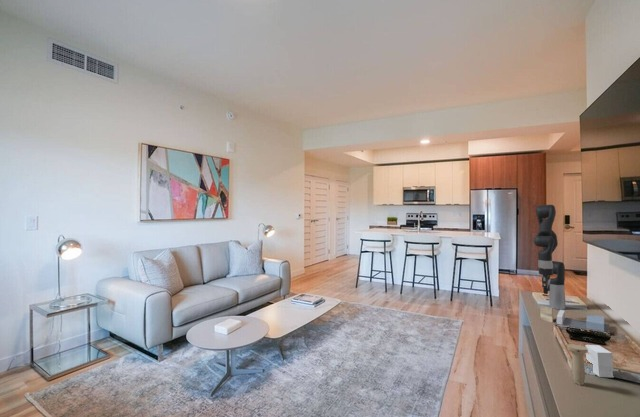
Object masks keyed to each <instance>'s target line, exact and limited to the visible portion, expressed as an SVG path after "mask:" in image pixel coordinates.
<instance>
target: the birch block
mask: <svg viewBox="0 0 640 417" xmlns="http://www.w3.org/2000/svg"><path fill="white" fill-rule="evenodd" d="M539 311H540V312H539V313H540V321H543V322H548V323H553V322H554V308H551V307H547V306H540V309H539Z"/></svg>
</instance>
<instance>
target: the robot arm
mask: <svg viewBox="0 0 640 417" xmlns="http://www.w3.org/2000/svg"><path fill="white" fill-rule="evenodd" d="M535 214H536V219H537V222H538V232H537V234H536V235H535V237H534V239H533V244H534V245H535V246H536V247H539V248H542V250H539V251H538V252H537V256H538V257H537V258H538V261H537V262H538V263H537V267H538V274H539V275H542V276H541V284H542V286H541V287H542V289H543V290H542V291H543V294H545V295H548V303H549V308H553V310H554V309H555V310H566V308H567V306H566V291H565V290H566V289H565V281H566V280H565V279H566V277H565V275H566V274H565V272H566V268H565V267H566V266H565V264H564V262H562V261H554V260H553V253H554V252H555V250H556V249H557V247H558V245H559V244H558V236H557V234H556V233H555V231H554V230H553V225H554V222H555V219H556V215H557V212H556V207H555V205H553V204H542V205H541V204H540V205H537V206H536V207H535ZM553 275H556V276H555V277H552V278H551V276H553Z"/></svg>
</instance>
